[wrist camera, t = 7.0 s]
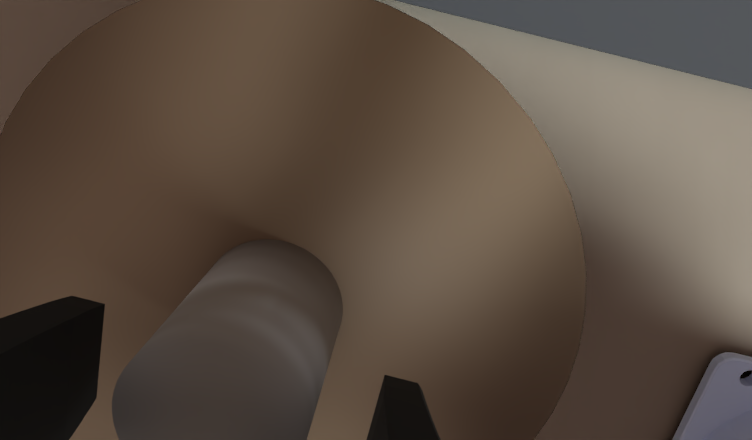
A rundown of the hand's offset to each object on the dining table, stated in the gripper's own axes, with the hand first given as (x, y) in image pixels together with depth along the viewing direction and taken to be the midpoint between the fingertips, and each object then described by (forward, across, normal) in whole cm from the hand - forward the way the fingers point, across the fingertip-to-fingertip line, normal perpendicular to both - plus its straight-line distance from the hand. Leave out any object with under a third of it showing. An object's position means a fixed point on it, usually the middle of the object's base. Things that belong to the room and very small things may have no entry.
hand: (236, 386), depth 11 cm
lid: (+3, 0, 0) cm, 3 cm away
